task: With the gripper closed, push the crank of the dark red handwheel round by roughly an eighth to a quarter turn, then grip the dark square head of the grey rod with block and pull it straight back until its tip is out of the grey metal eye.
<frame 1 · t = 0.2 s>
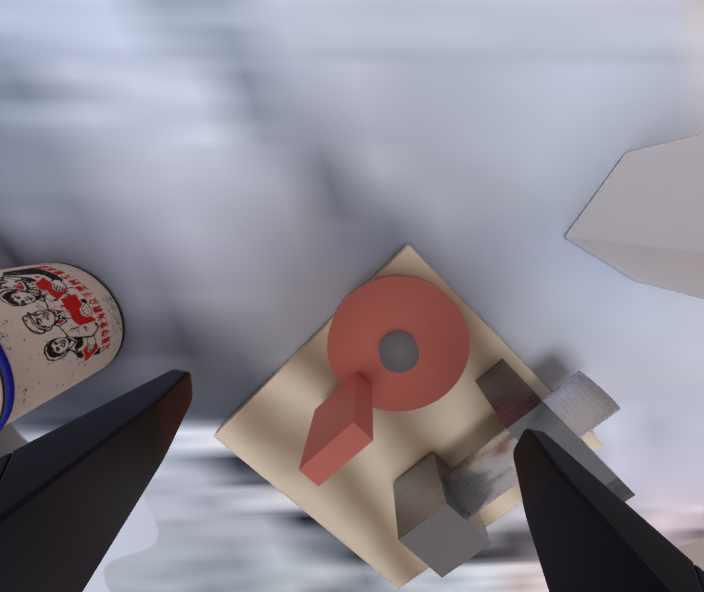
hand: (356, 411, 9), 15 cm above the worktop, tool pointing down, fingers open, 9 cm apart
handwheel: (385, 376, 20), point 5 cm above the worktop, hinge at 0.0°
base board: (401, 429, 26), on the worktop
eye post: (526, 407, 24), resting on base board
teacup with lid: (57, 303, 25), on the worktop
grey rod with block: (500, 462, 22), point 4 cm above the worktop, slide at 0.0 cm
milk: (628, 219, 22), on the worktop
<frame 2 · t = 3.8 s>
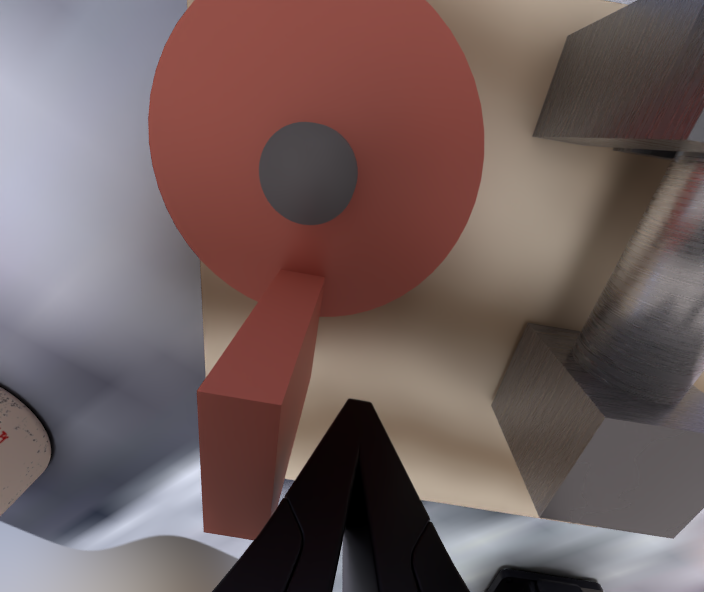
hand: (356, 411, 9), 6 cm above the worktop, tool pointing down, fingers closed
handwheel: (292, 238, 8), point 5 cm above the worktop, hinge at 0.8°, touching gripper
base board: (456, 317, 14), on the worktop
eye post: (690, 113, 9), resting on base board
grey rod with block: (693, 262, 9), point 4 cm above the worktop, slide at 0.0 cm
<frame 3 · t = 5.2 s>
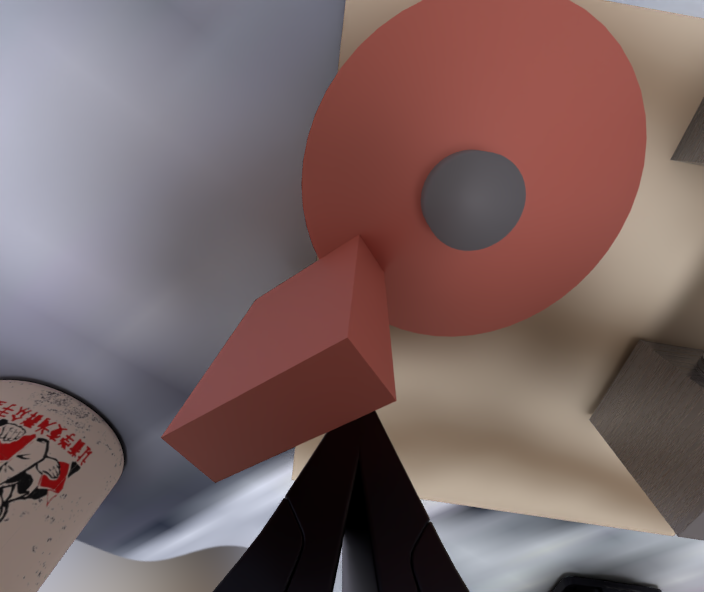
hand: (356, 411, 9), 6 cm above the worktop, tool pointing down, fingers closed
handwheel: (437, 244, 8), point 5 cm above the worktop, hinge at 47.8°, touching gripper
base board: (554, 332, 14), on the worktop
teacup with lid: (24, 427, 18), on the worktop
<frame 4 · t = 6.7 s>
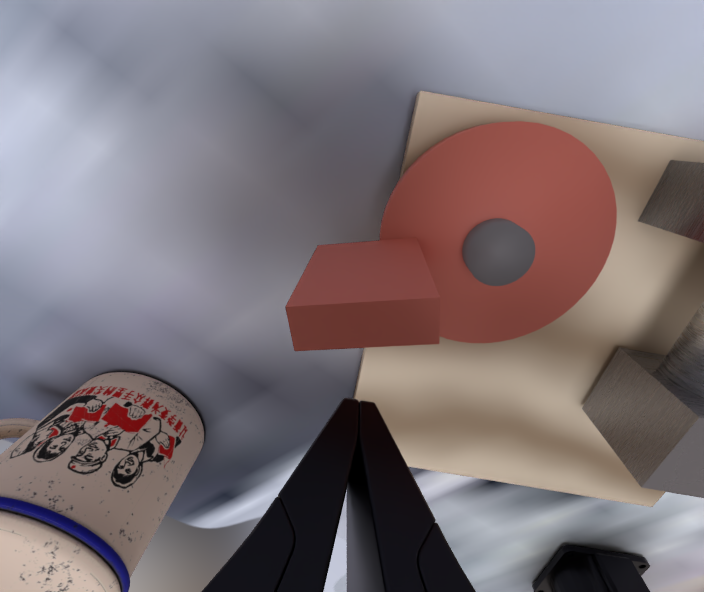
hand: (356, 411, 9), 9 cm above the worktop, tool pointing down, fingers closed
handwheel: (474, 270, 12), point 5 cm above the worktop, hinge at 75.2°
base board: (555, 340, 18), on the worktop
teacup with lid: (124, 411, 23), on the worktop
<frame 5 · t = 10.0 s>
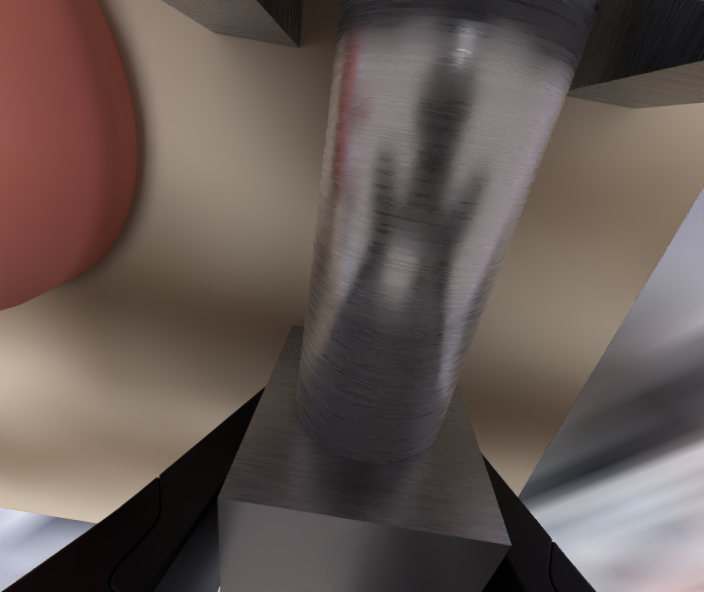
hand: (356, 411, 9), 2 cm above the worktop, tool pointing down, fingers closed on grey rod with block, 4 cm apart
base board: (236, 316, 10), on the worktop
grey rod with block: (410, 225, 5), point 4 cm above the worktop, slide at 0.0 cm, touching gripper
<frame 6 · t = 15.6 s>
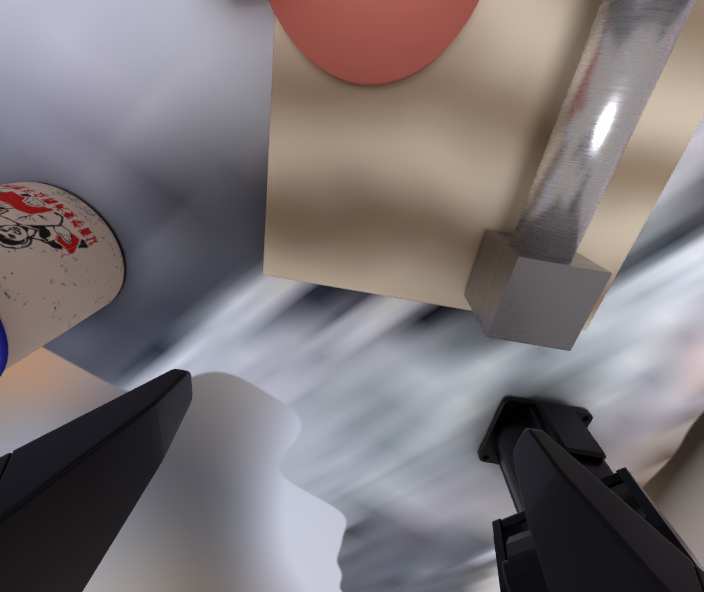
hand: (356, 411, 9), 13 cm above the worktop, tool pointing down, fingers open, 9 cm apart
base board: (471, 120, 17), on the worktop
teacup with lid: (41, 241, 22), on the worktop
grey rod with block: (574, 171, 15), point 4 cm above the worktop, slide at 6.0 cm
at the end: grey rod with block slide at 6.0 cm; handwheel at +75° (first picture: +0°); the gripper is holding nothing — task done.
